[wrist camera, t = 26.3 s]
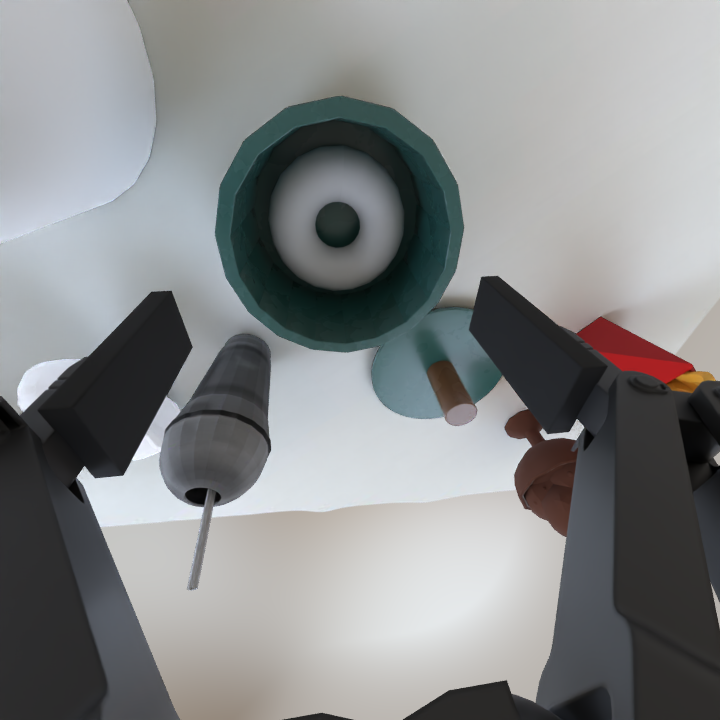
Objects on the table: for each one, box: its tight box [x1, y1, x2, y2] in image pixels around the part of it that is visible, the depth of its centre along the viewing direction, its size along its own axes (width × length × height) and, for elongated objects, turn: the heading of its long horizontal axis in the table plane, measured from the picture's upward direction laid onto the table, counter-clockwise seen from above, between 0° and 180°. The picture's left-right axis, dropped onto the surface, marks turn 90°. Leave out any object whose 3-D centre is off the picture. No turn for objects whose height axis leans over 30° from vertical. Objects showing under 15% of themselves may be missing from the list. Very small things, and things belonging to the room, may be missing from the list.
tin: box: [215, 96, 464, 352], centre depth 22 cm, size 14×14×8 cm
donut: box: [268, 145, 404, 291], centre depth 24 cm, size 10×4×10 cm
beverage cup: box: [159, 334, 271, 590], centre depth 24 cm, size 7×7×20 cm
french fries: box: [577, 317, 716, 393], centre depth 30 cm, size 9×8×15 cm
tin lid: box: [371, 307, 502, 426], centre depth 32 cm, size 15×15×8 cm
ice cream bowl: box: [505, 410, 578, 537], centre depth 37 cm, size 11×11×15 cm
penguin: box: [17, 359, 180, 461], centre depth 30 cm, size 8×8×15 cm
